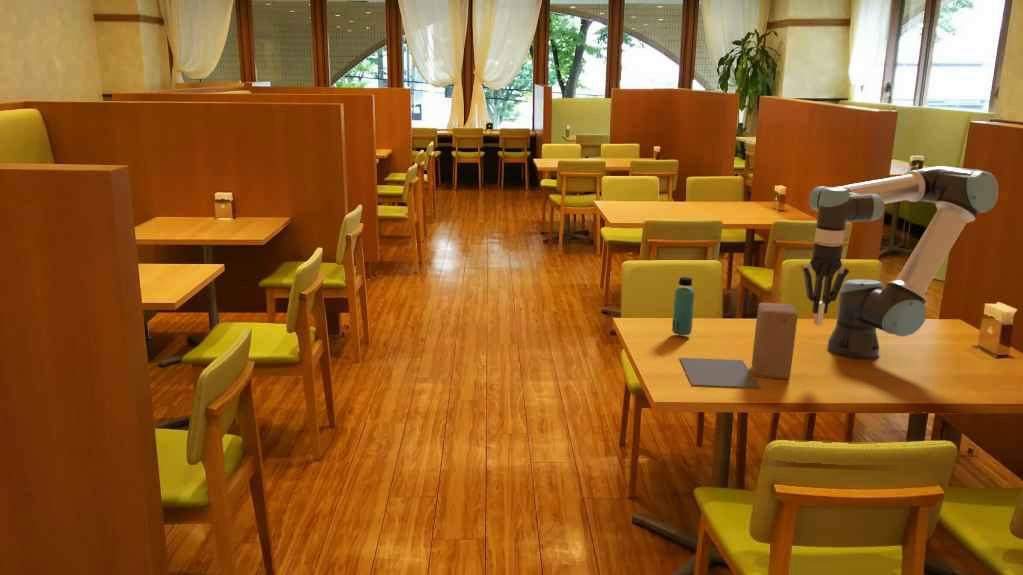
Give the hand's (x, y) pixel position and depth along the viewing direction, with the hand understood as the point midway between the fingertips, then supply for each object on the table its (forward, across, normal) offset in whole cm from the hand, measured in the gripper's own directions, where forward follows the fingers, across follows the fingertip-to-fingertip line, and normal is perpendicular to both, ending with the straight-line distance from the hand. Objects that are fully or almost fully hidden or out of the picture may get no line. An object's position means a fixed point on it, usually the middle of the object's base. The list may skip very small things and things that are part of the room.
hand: (817, 324), depth 235 cm
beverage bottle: (+16, +33, -31) cm, 48 cm away
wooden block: (+16, +12, 0) cm, 20 cm away
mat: (+15, +27, +2) cm, 31 cm away
